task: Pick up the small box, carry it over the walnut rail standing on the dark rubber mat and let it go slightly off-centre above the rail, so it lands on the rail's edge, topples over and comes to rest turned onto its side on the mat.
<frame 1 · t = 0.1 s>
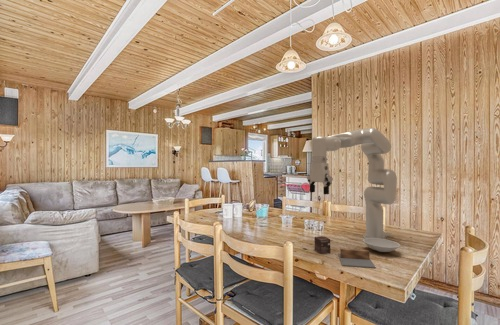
hand: (319, 193, 132), 31 cm above the table, tool pointing down, fingers open, 9 cm apart
dish: (380, 252, 132), on the table
box: (322, 252, 133), on the table
rubber mat: (355, 261, 120), on the table
walnut rail: (354, 259, 122), resting on rubber mat
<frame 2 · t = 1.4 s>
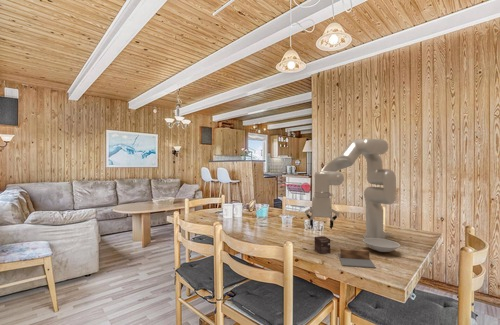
hand: (321, 227, 132), 13 cm above the table, tool pointing down, fingers open, 9 cm apart
nothing on the table moved.
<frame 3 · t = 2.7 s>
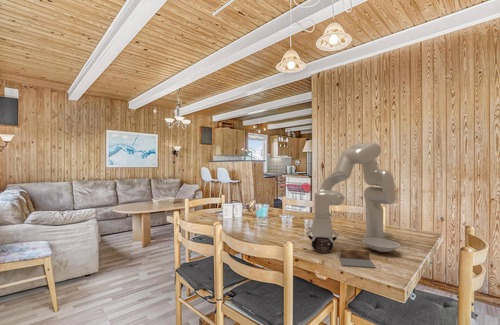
hand: (322, 248, 133), 2 cm above the table, tool pointing down, fingers closed on box, 8 cm apart
box: (322, 251, 133), on the table, touching gripper
everything else where it was.
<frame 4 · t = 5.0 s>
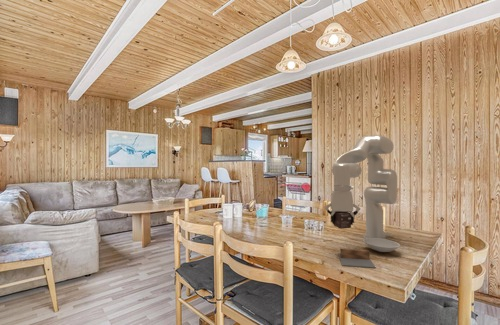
hand: (342, 223, 125), 17 cm above the table, tool pointing down, fingers closed on box, 8 cm apart
box: (342, 227, 125), point 15 cm above the table, touching gripper
everything else where it was.
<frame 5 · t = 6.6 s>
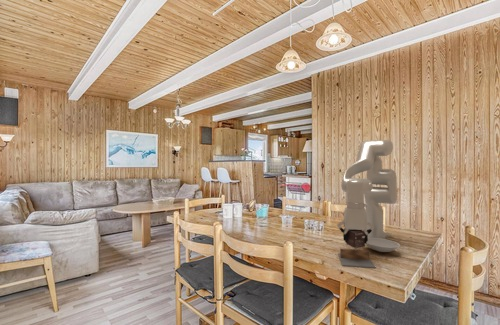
hand: (355, 242, 120), 9 cm above the table, tool pointing down, fingers closed on box, 8 cm apart
box: (355, 246, 120), point 7 cm above the table, touching gripper
everything else where it was.
when the fingers open (8 cm above the table, at t = 7.3 s): box drops 3 cm, resting on rubber mat.
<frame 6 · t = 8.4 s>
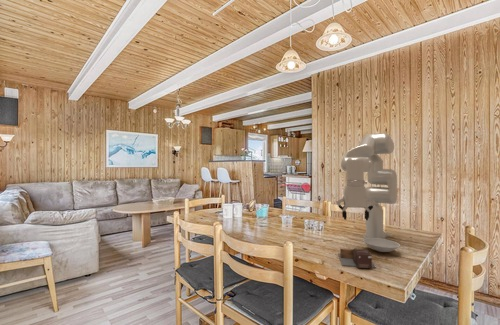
hand: (355, 219, 120), 20 cm above the table, tool pointing down, fingers open, 9 cm apart
box: (359, 254, 118), point 4 cm above the table, touching rubber mat
everything else where it was.
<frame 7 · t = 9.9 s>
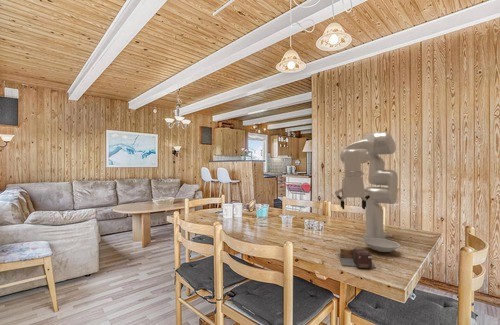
hand: (353, 208, 125), 24 cm above the table, tool pointing down, fingers open, 9 cm apart
nothing on the table moved.
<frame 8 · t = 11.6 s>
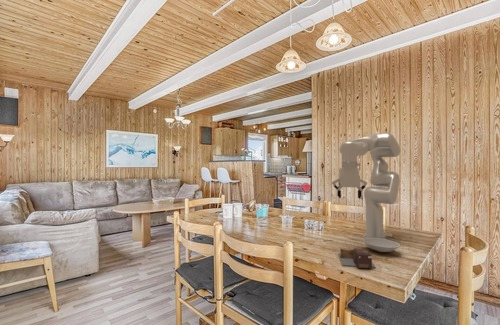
hand: (349, 198, 132), 28 cm above the table, tool pointing down, fingers open, 9 cm apart
nothing on the table moved.
at the end: box tilted 90°; box inside the target area (2.2 cm from its centre), point 3.6 cm above the table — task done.
